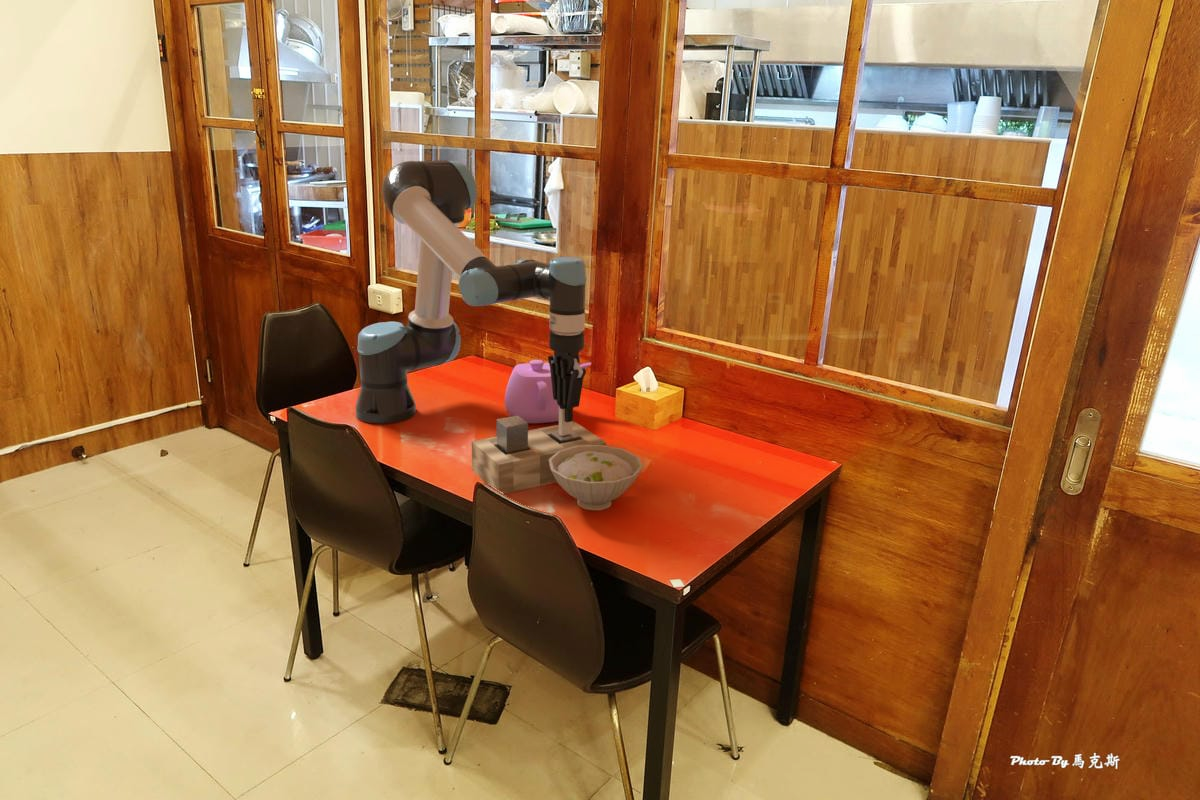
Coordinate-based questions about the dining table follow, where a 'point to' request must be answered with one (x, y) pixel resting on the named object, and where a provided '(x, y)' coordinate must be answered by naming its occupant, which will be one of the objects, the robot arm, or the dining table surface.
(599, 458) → the bowl
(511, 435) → the near peg
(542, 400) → the teapot
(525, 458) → the socket block
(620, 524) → the dining table surface
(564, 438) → the far peg
